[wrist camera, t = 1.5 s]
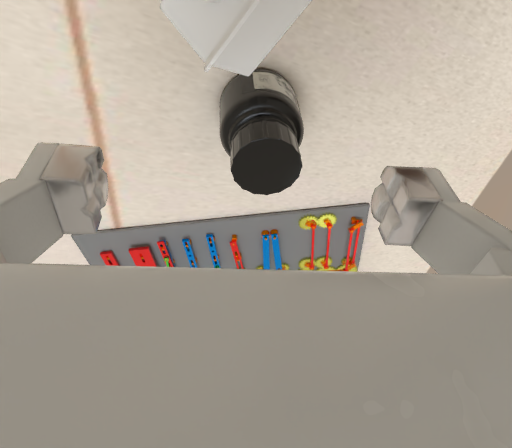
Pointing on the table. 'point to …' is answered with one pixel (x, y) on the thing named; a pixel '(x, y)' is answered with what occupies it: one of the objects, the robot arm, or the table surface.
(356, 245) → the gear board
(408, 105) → the table surface
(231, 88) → the ink bottle
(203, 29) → the milk carton
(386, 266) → the table surface
